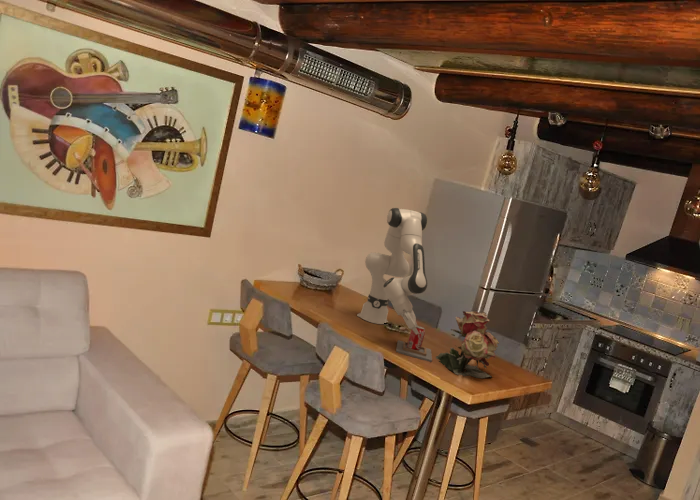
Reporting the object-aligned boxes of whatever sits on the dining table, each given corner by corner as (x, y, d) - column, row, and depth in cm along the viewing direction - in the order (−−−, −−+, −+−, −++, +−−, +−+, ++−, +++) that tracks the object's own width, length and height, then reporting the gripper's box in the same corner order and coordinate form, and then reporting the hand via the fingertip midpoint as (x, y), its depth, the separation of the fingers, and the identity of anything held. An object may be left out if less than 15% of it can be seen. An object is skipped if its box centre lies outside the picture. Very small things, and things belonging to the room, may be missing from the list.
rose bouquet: (458, 378, 291) (476, 318, 287) (430, 355, 318) (446, 299, 314) (503, 383, 301) (521, 325, 297) (472, 361, 328) (488, 307, 323)
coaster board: (397, 341, 327) (398, 337, 327) (430, 351, 325) (431, 347, 325) (396, 352, 307) (397, 348, 307) (431, 362, 306) (432, 358, 305)
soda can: (421, 350, 317) (427, 328, 316) (418, 352, 310) (424, 329, 310) (408, 346, 319) (414, 324, 319) (404, 348, 313) (411, 325, 312)
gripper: (409, 309, 304) (423, 333, 304) (409, 301, 324) (422, 324, 324) (397, 315, 305) (411, 339, 305) (399, 307, 325) (412, 329, 325)
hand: (417, 331), depth 315 cm, fingers open, 8 cm apart
